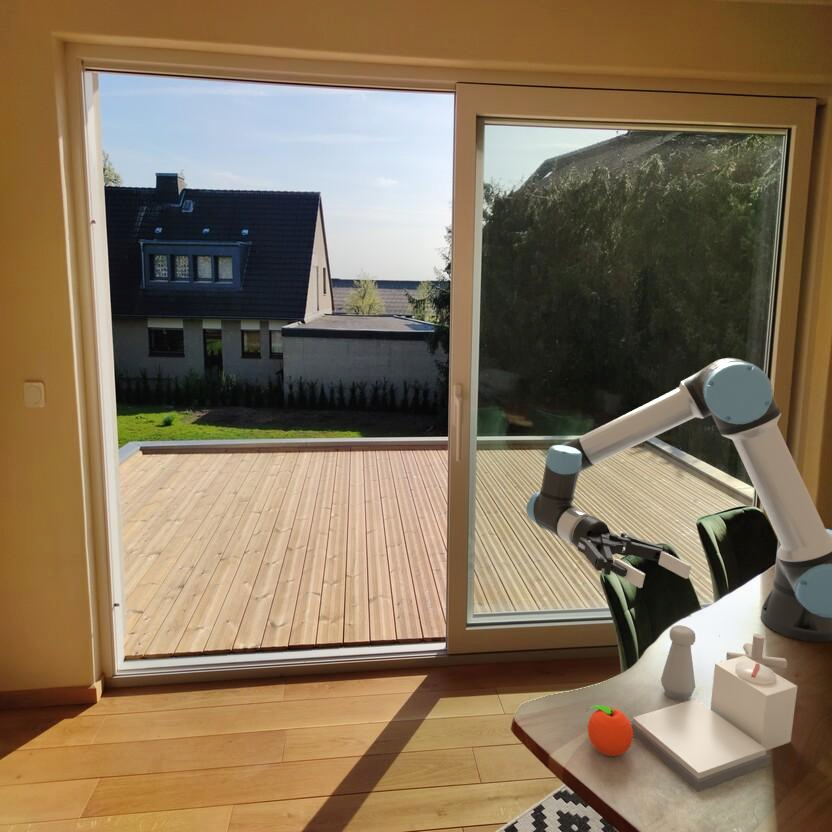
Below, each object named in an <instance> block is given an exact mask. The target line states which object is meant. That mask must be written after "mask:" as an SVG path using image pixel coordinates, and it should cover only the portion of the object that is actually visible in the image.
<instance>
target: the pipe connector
mask: <svg viewBox="0 0 832 832" xmlns="http://www.w3.org/2000/svg"><path fill="white" fill-rule="evenodd" d="M764 643H765V636H764V635H763V634H761V633H753V636H752V643H750V642H746V643H744V644H743V647H742V648H743V651H744V652H745V653H737V652H730V651H727V652H726V657H725V658H726V660H730V659H733V658H737V657H741V656H746V657H748V658H750V659H751V660H753V661H755V662H757V663H759V664H762V665H764V666H766V667H768V668H775V669H783V670H787V668H788V661H787V659H786V658H784V657H783V658H782V657H776V656H774V657H773V656H766V655H763V654H764Z"/></svg>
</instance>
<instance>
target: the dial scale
mask: <svg viewBox="0 0 832 832" xmlns="http://www.w3.org/2000/svg"><path fill="white" fill-rule="evenodd" d="M712 681H713V682H712V690H711V701H710V708H709V707H708V706H706V705H705V704H704V703H703V702H701V701H700V700H698V699H697V698H693V699H691V700H686V701H682V702H680V703H676V704H672V705H670V706H666V707H663V708H660V709H657V710H656V709H655V710H652V711H650V712H647V713H643V714H640V715H636V716H632V720H629V721H630V724H631V726H632V730H633V737H634V738H636V739H637V740H638V741H639V742H641V744H642V745H644V746H645V747H646V748H647V749H648V750H650V752H652V753H653V754H654V755H655V756H656V757H658V758H659V760H661V761H662V762H664V763H665V764H666V765H667V766H668V767H669V768H670V769H671V770H673V771H674V772H675V773H676V774H677V775H678V776H679V777H681V778H682V779H683V780H684V781H685V782H686V783H688V784H689V785H690V786H691V787H692V788H693V789H695V790H696V791H697V792H700V791H704V790H706V789H707V788H711V787H713V786H716V785H719V784H721V783H724V782H728V781H729V780H731V779H734V778H737V777H740V776H744V775H745V774H748V773H750V772H753V771H756V770H759V769H762V768H764V767H765V768H766V767H767V766H770V763H771V757H772V756H771V755H770V754H769V753H767V751H769V750H772V749H775V748H778V747H780V746H784V745H786V744H789V743H791V740H792V733H793V725H794V716H795V709H796V699H797V691H798V685H796V684H795V683H793V682H791V681H789V680H787V679H785V678H784V677H783V676H781V675H779V674H777V673H775V671H773V670H772V669H771V667H766V666H764V665H762V664H759V663H757V662H755V661H753V660H751V659H750V658H748V657H746V656H741V657H737V658H733V659H730V660H727V659H726V660H723V661H719V662H716V663H714V671H713V680H712Z"/></svg>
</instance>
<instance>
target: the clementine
mask: <svg viewBox="0 0 832 832" xmlns="http://www.w3.org/2000/svg"><path fill="white" fill-rule="evenodd" d="M591 708H593V709H594V708H596V709H597V710H595V711H594V712H593V713H592V715H590V717H589V720H588V721H587V722H588V724H587V733H588V734H587V735H588V738H589V741H590V742H591V744H592V745H593V746H594V748H595V749H596V750H597V751H599V752H600V753H601V754H604V755H606V756H621V755H622V754H624V753H626V752H627V751H628V750H629V748H630V747H631V745H632V742H633V739H634V738H633V737H634V735H633V730H632V726H631V724H630V721H631V720H629V718H628V716H626V715H625V714H624V713H623V712H621V711H620V710H619V709H617V708H614V707H608V706H605V705H602V704H597V705H595V704H594V705H591V706H590V707H588V708H587V709H586V712H588V711H589V710H590V709H591Z"/></svg>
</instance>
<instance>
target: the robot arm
mask: <svg viewBox="0 0 832 832" xmlns="http://www.w3.org/2000/svg"><path fill="white" fill-rule="evenodd" d="M777 403H778V402H776V399H775V397H774V393H773V385H772V383H771V380H770V379H769V377H768V375H767V373H766V372H764V371H763V370H762V369H761V368H760V367H758V366H757V365H756V364H753V363H751V362H748V361H745V360H743V359H740V358H737V357H736V358H735V357H726V358H721V359H717V360H715V361H714V362H711V363H710V364H709V365H707V366H706V367H704V368H702V369H700V370H699V371H698V372H696V373H694V374H692V375H690V376H689V377H687V378H684V379H683V380H681V381H680V383H679V386H678V387H676V388H675V389H673V390H671V391H669V392H667V393H665V394H663V395H661V396H659V397H658V398H655V399H652V400H651V401H649V402H647V403H645V404H643V405H642V406H638V407H637V408H635V409H633V410H632V411H629V412H627V413H625V414H623V415H621V416H619V417H617V418H615V419H613V420H610V421H609V422H607V423H605V424H603V425H601V426H599V427H597V428H594V429H592V430H591V431H589V432H587V433H585V434H583V435H581V436H579V437H578V438H574V439H573V440H571V441H566V442H563V443H561V444H554V445H552V446H550V447H549V449H548V452H547V455H546V458H545V465H544V472H543V477H542V483H541V488H540V491H536V492H534V493H533V494H532V495H531V496H530V498H529V501H528V502H527V503H526V508H525V509H526V510H525V511H526V514H527V516H528V518H529V519H530V520H531V521H532V522H534V523H535V524H536V525H537V526H539V527H540V528H542V529H543V530H547V532H550V533H551V534H553V535H555V536H557V537H558V538H560V539H562V540H564V541H565V542H567V543H568V545H570V546H574V547H576V548H577V551H579V552H580V553H582V554H583V556H584V557H585V558H586V559H587V560H588V561H589V563H590V564H591V565H592V567H593V568H594V569H595V570H596V571H598V572H602V571H603V574H604V575H606V576H610V575H611V573H613V574H614V575H617V576H618V577H620V578H621V579H623V580H625V581H627V582H629V583H630V584H632V585H633V586H635V587H637V588H639V589H641V588H643V585H644V581H645V577H646V573H644V572H643V571H642V570H640V569H637V568H635V567H634V566H632V565H630V564H629V563H626V562H625V561H623V560H622V559H620V558H614V557H613V555H621V556H625V557H628V556H629V555H630V556H633V557H637V558H641V559H645V560H650V561H654V562H656V563H657V562H658V565H659V566H661V567H663V568H664V569H666V570H669V571H670V572H673V573H674V574H675V575H677V576H680V577H682V578H684V579H689V577H690V573H691V569H692V565H691V564H689V563H687V562H685V561H683V560H682V559H679V558H677V556H676V557H675V556H674V555H671V554H669V548H668V547H666V546H664V545H660V544H657V543H653V542H652V541H651V542H650V541H648V540H644V539H641V538H638V537H635V536H631V535H630V534H628V533H625V532H621V533H620V536H619V535H618V534H616V533H611V531H610V529H609V526H608V524H607V523H606V522H605V521H602V520H600V519H599V518H597V517H595V516H593V515H591V514H589V513H587V512H586V511H583V510H582V509H579V508H577V507H576V506H574V505H573V503H574V498H575V493H576V488H577V485H578V480H579V477H580V473H581V472H583V471H585V470H588V469H589V468H591V467H593V466H595V465H597V464H599V463H601V462H603V461H606V460H608V459H609V458H612V457H614V456H617V455H618V454H621V453H622V452H625V451H627V450H629V449H632V448H633V447H635V446H638V445H639V444H642V443H644V442H646V441H648V440H651V439H652V438H653V437H656V436H658V435H660V434H663V433H665V432H667V431H669V430H671V429H673V428H675V427H677V426H679V425H682V424H684V423H686V422H688V421H690V420H692V419H694V418H697V419H705V418H707V417H709V416H712V418H713V421H714V422H715V424H716V427H717V429H718V431H719V433H720V435H721V437H724V438H727V439H730V440H732V442H733V445H734V446H735V449H736V451H737V452H738V455H739V457H740V460H741V462H742V463H743V466H744V469H745V470H746V472H747V475H748V476H749V477H748V478H750V481H751V483H752V485H753V487H754V489H755V492H756V494H757V496H758V498H759V500H760V502H761V505H762V507H763V509H764V512H765V513H766V515H767V517H768V519H769V522H770V524H771V526H772V528H773V530H774V532H775V535H776V537H777V545H776V546H777V547H776V557H775V565H774V573H773V574H774V575H773V585H772V587H771V590H770V592H769V593H768V595H767V597H766V599H765V601H764V603H763V604H762V607H761V609H760V610H761V611H760V620H761V622H762V623H763V624H764V625H765V626H766V627H767V628H769V629H771V630H772V631H774V632H777V633H779V634H781V635H782V636H783V635H784V636H786V637H788V638H792V639H796V640H800V641H806V642H812V643H826V642H827V643H828V642H832V529H829V528H826V527H825V526H824V523H823V521H822V519H821V517H820V514H819V512H818V510H817V507H816V506H815V504H814V502H813V499H812V497H811V495H810V493H809V491H808V489H807V488H808V487H807V486H806V485H805V482H804V480H803V478H802V475H801V474H800V471H799V469H798V467H797V464H796V463H795V460H794V459H793V456H792V454H791V452H790V450H789V448H788V446H787V444H786V441H785V439H784V437H783V435H782V433H781V430H780V428H779V426H778V422H779V420H780V417H781V416H782V412H781V411H780V408H779V406H778V404H777Z"/></svg>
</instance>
